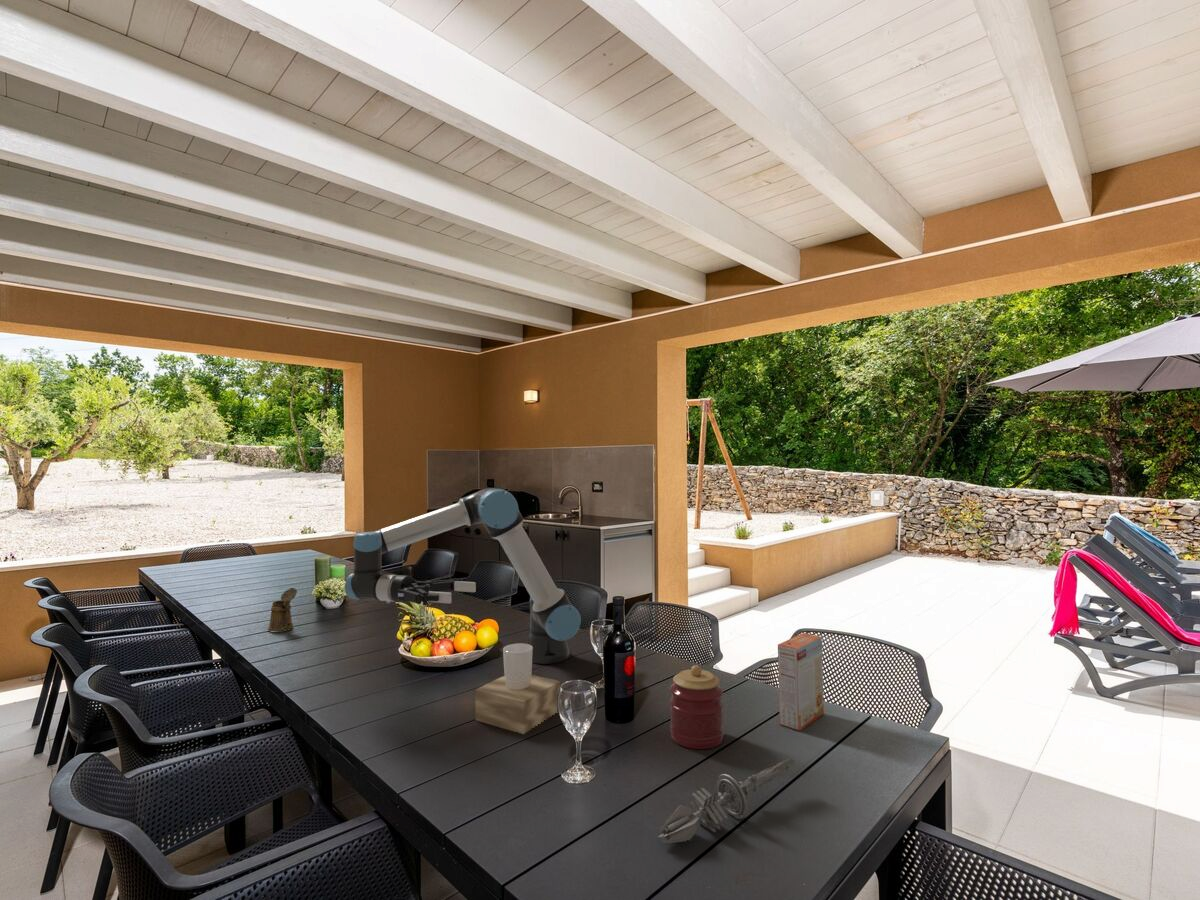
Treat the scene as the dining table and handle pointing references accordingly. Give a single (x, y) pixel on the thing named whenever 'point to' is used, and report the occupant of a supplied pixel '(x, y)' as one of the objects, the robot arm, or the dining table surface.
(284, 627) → the wooden mug
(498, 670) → the dining table surface
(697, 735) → the canister
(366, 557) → the robot arm
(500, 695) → the riser block
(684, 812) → the spaceship
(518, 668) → the white cup
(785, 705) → the cracker box
